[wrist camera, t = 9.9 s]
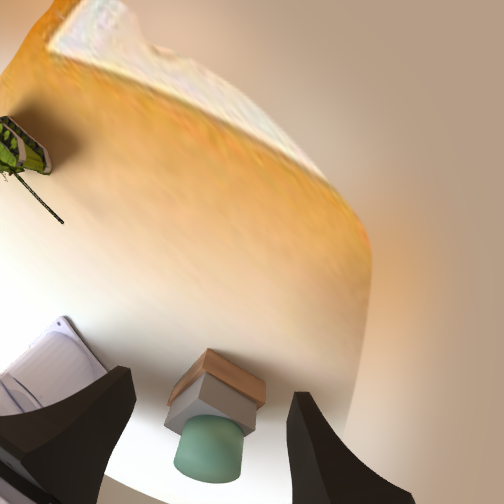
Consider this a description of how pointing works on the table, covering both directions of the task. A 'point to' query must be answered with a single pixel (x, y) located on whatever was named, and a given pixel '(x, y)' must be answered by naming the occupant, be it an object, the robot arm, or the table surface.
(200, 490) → the table surface
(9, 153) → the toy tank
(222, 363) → the walnut block
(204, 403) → the gray block
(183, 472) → the green cylinder
